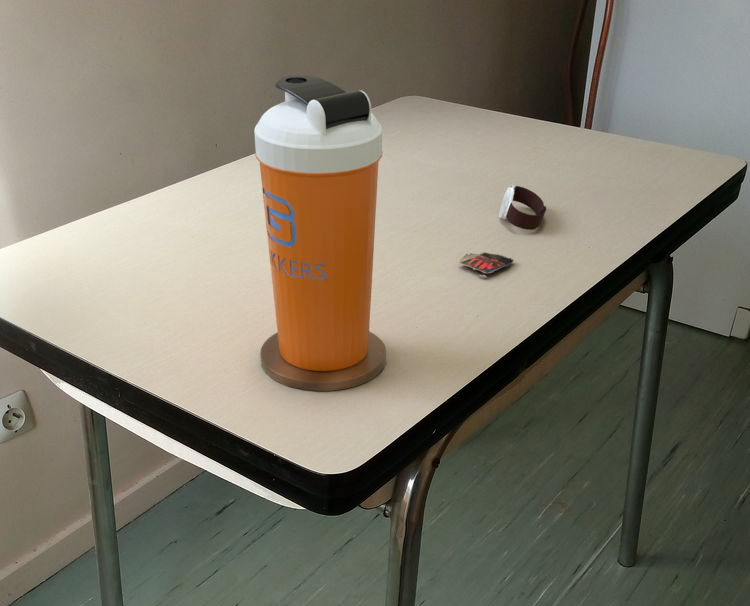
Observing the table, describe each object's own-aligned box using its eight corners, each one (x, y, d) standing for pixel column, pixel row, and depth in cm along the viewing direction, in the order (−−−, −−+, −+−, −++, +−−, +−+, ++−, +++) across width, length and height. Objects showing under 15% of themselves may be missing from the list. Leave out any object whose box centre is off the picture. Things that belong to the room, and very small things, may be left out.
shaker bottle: (324, 314, 85) (318, 63, 73) (403, 349, 80) (410, 87, 68) (244, 350, 80) (223, 87, 68) (323, 391, 75) (316, 114, 63)
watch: (497, 206, 108) (500, 172, 105) (541, 207, 107) (545, 173, 105) (500, 234, 101) (503, 198, 99) (547, 235, 101) (551, 200, 99)
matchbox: (516, 260, 96) (516, 256, 96) (494, 280, 92) (494, 275, 92) (471, 251, 98) (471, 246, 97) (448, 270, 94) (448, 265, 94)
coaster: (261, 393, 76) (260, 384, 76) (260, 332, 84) (260, 323, 84) (392, 388, 77) (392, 379, 76) (379, 328, 85) (380, 319, 84)
